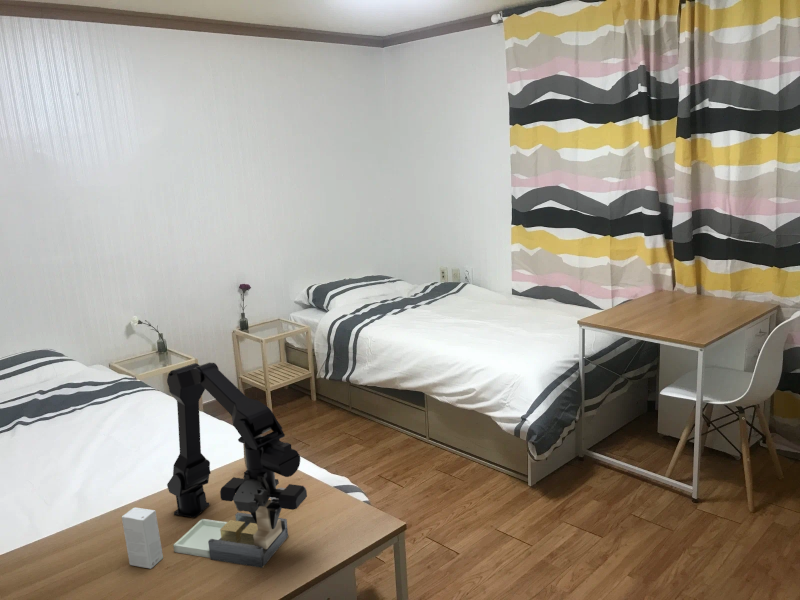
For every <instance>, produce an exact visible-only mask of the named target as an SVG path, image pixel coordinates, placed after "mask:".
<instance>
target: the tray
mask: <svg viewBox="0 0 800 600" xmlns="http://www.w3.org/2000/svg"><path fill="white" fill-rule="evenodd" d="M227 522H228V521H222V520H214V519H207V518H201V519H200V520H199V521H197V522H196V524H194V526H192V527H190V529H189V530H187V532H186V533H184V535H182V536H181V537H180V538H179V539H178V540H177V541H176V542H174V543H173V551H174V553H178V554H184V555H189V556H190V555H191V556H196V557H197V556H198V557H202V558H209V559H211V558H210V551H209V544H208V541H209V540H210V539H215V540H219V539H220V538H221V532H220V529H221V528H222V527H223V526H224V525H225V524H226V523H227Z"/></svg>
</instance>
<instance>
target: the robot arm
mask: <svg viewBox="0 0 800 600" xmlns="http://www.w3.org/2000/svg"><path fill="white" fill-rule="evenodd" d="M166 382H167V386H168V391H169V394H170V395H171V396H172V397H173V398H174V400H175V401H176V406H177V423H178V424H177V425H178V441H179V443H178V444H179V454H178V456H177V458H176V460H175V462H174V464H173V468H172V469H173V471H172V476H171V478H170V479H169V481H168V482H167V484H166V487H167V490H168V491H169V493H170V494H172V495H174V496H175V499H176V500H175V501H176V506H177V507H176V508H177V509H176V510H175V511H174V512H173V515H174V516H180V517H187V518H197V517H198V516H199V515H201V513H203V511H204V510H206V509H207V508H208V507H209V506H210V504H211V503H210V502H207V497H206V496H207V495H206V492H205V491H204V485H207V484H209V480H210V474H212V473H211V468H210V467H211V466H210V465H211V461H210V460H209V459H207V458H206V457H205V456H204V455H203V454H202V449H201V448H202V447H201V443H202V442H201V423H200V421H201V420H200V399H201V397H202V396H203V394H204V392H205V391H207V393H209V394H210V395H211V396H212V397H213V398H214V399H215V400H216V401H217V403H219V404H220V405H221V406H222V407H223V408H224V409H225V410H226V411H227V412H228V413H229V414H230V415H231V421H232V426H233V427H234V428H235V430H236V431H237V432H238V434H239V435H240V436H239V438H238V439H237V441H238V442H239V443H241V444H243V443H244V446H245V455H246V464H247V470H245V471H244V472H243V478H242V477H234V476H233V477H232V478H231V479H229V481H227V482H226V483H225V484H224V485H223V486H222V487H221V488H220V491H219V494H220V500H221V501H226V502H234V505H235V508H236V510H237V511H239V512H242V511H243V512H247V513H248V512H249V514H251V515H252V516H253V518H254V520H255V522H256V524H257V518H256V511H257V510H258V508H259V506H265V505H266V503H267V501H268V500H271V503H270V504H269V505H268V506H267V507H266V508H267V509H268V510H269V511H270V522H271V528H272V529H274V528H275V527H276V524H277V521H278V518H280V515H281V511H282V509H284V510H285V509H286V510H292V511H293V510H297V509H298V508H299V506H301V504H302V503H303V502H304V501H305V500H306V498H307V497H308V492H307V488H306V487H305V486H304V485H298V484H293V483H289V484H288V485H287V486H286V487H278V488H277V486H278V485H279V483H280V482H279V481H280V480H279V479H278V478H276V475H277V474H278V475H280V476H283V477H285V478H289V477H292V476H293V475H294V474H295V473H296V472H297V471H298V469H299V467H300V463H301V456H300V454H299V452H298V451H297V450H296V449H293V448H292V444H291V443H289V442H284V441H281V439H283V438H285V435H286V434H285V433H284V431H283V427H282V425H281V424H280V422H279V421H278V420H277V418H276V416H275V415H274V412H273V411H272V409H271V408H270V407H268V406H267V405H266V404H264V403H263V402H261V401H260V400H258V399H255V398H249V397H248V396H246V395H245V394H244V392H242V391H241V390H240V389H239V388H238V387H237V386H236V385H235V384H234V383H233V382H232V381H231V380H230V379H229V378H228V377H226V375H224V373H222V372H221V370H219V367H218V365H217V364H216V363H215V362H207V363H203V364H201V365H200V364H198V363H195V362H194V363H190V364H188V365H185V366H182V367H179V368H176V369H172V370H170V372H169V373H167V378H166ZM269 431H272V432H269ZM267 432H269V433H267ZM264 433H265V435H262V434H264ZM266 433H267V434H266ZM275 474H276V475H275Z"/></svg>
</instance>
